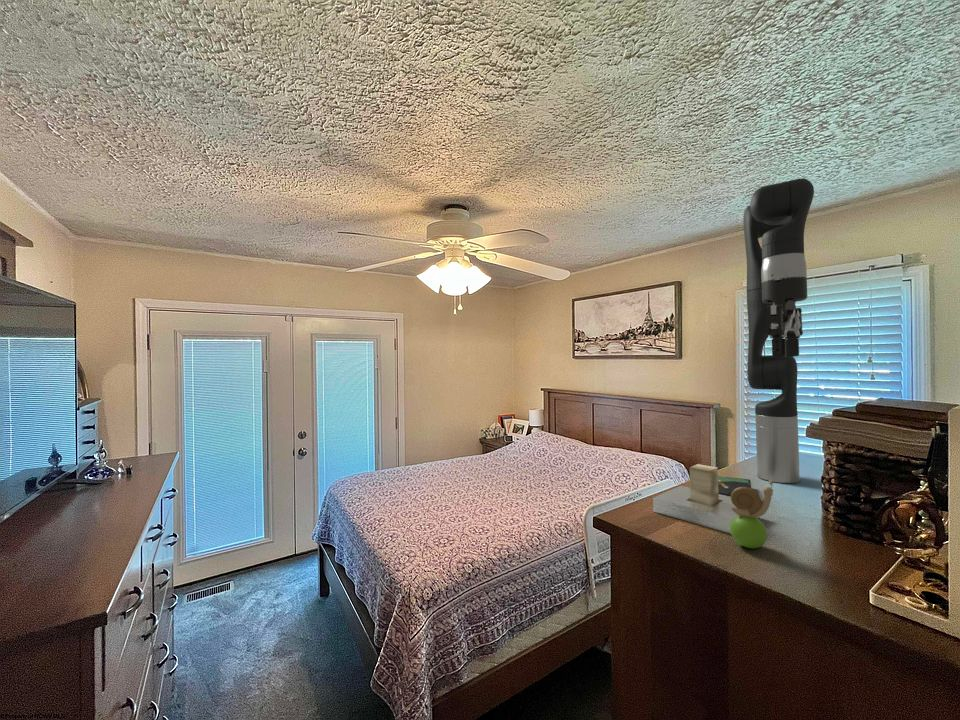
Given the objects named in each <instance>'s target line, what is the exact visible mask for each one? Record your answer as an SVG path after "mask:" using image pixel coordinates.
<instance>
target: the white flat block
mask: <svg viewBox="0 0 960 720" xmlns="http://www.w3.org/2000/svg"><path fill="white" fill-rule="evenodd" d="M718 496H719V503H718V504H717V505H715V506H713V507H711V506H707V505H703V504H699V503H695V502H691V501H690V486H689V487H688V486H685V485H679V486H677V487H673V488H672V489H669V490H668V491H665V492H662V493H661V494H658V495H657V496H654V497H653V498H652V499H653V500H652V506H653V507H652V508H653V509H652V510H653V512H655V513H658V514H661V515H664V516H668V517H672V518H675V519H679V520H682V521H686V522H689V523H692V524H695V525H699V526H703V527H706V528H710V529H712V530H713V529H714V530H716V531H720V532H724V533H726V534H729V535H732V534H731V531H730V525H731V522H732V520H733V519H734V518H735V517H737V516H739V515H737V514H736V513H735V512H734V511H733V510H732V509H731V507H734V508H737V507H736V506H735V505H734V504H733V503H732V501H731V497H730V496H725V495H721V494H718ZM755 518H757V519H759V518H760V516H759V517H755Z"/></svg>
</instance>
